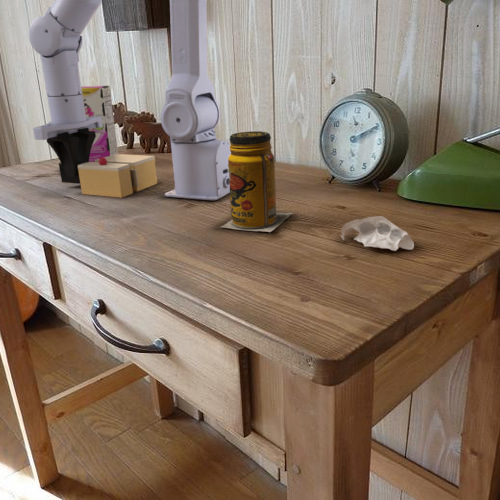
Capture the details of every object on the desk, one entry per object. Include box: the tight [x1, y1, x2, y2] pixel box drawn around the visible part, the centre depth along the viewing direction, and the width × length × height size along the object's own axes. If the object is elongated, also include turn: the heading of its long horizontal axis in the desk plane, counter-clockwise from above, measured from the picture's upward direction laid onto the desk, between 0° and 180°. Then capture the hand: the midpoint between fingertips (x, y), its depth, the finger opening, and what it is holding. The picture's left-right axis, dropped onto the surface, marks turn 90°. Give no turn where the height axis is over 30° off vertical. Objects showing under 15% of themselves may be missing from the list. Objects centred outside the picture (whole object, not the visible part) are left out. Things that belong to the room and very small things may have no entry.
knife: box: [58, 162, 138, 187], centre depth 94 cm, size 16×2×4 cm, turn 65°
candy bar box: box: [59, 84, 119, 163], centre depth 110 cm, size 11×5×16 cm, turn 84°
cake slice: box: [78, 157, 134, 199], centre depth 91 cm, size 8×3×6 cm, turn 65°
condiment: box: [221, 130, 294, 233], centre depth 72 cm, size 7×8×12 cm
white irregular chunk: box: [340, 215, 415, 252], centre depth 63 cm, size 6×8×4 cm
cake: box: [94, 153, 158, 192], centre depth 96 cm, size 8×6×5 cm
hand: (77, 174), depth 96 cm, fingers closed on knife, 2 cm apart
